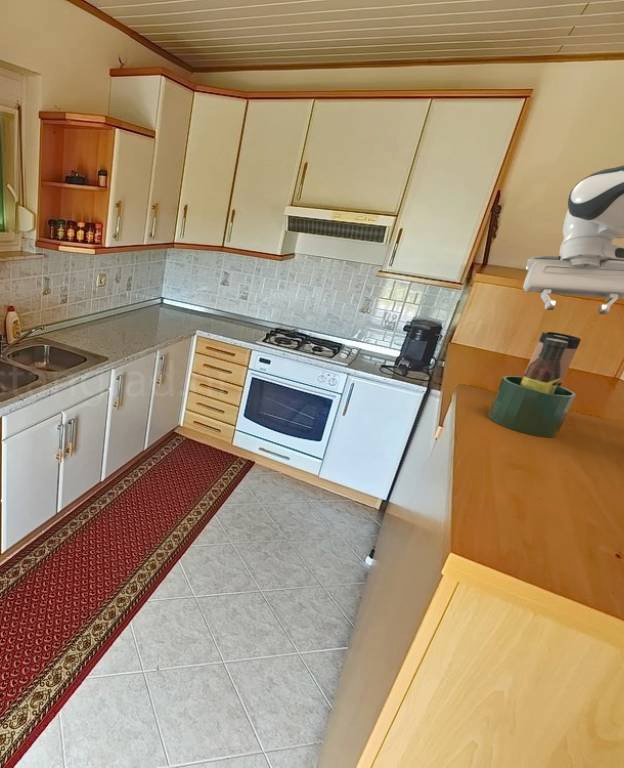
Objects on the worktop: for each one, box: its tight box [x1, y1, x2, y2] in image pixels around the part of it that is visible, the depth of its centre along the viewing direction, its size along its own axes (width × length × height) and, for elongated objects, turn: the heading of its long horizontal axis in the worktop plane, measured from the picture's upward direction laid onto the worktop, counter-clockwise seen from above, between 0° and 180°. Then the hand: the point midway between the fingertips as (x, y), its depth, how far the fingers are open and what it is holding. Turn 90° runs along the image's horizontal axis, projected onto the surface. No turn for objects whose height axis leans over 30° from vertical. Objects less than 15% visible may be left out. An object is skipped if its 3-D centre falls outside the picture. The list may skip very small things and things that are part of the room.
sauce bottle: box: [520, 338, 568, 394], centre depth 112 cm, size 6×6×20 cm
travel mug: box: [523, 331, 582, 387], centre depth 125 cm, size 8×8×20 cm
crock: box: [487, 375, 577, 438], centre depth 114 cm, size 13×13×10 cm
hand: (575, 311), depth 113 cm, fingers open, 8 cm apart
